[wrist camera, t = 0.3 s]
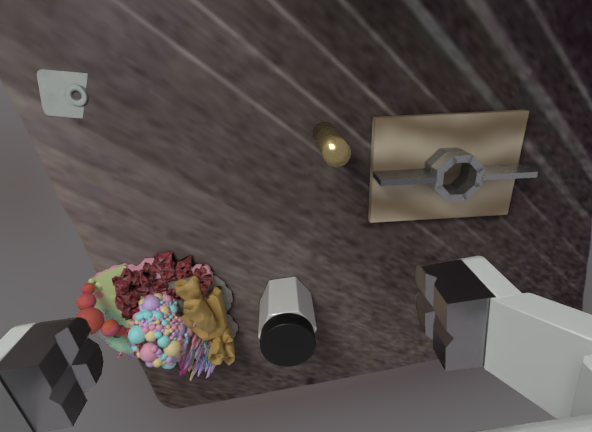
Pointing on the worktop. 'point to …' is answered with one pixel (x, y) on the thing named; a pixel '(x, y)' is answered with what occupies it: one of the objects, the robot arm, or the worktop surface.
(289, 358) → the jar
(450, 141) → the birch board
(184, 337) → the candy landscape model
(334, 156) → the pin
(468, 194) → the grey metal ringed bar
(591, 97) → the worktop surface
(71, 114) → the mounting bracket
